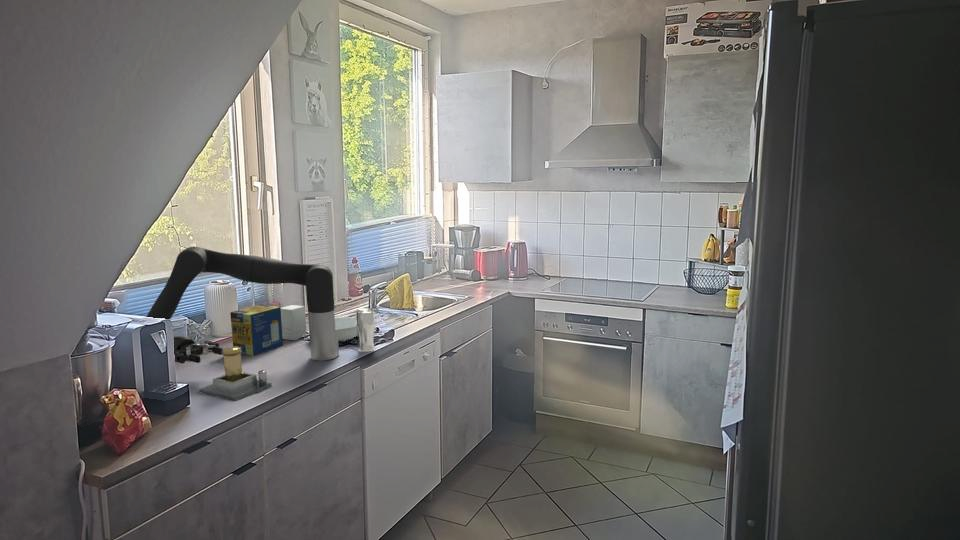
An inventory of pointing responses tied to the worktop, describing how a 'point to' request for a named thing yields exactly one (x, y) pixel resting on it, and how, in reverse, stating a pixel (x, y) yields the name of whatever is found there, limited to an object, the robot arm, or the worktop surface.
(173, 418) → the worktop surface
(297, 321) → the supplement box
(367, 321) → the beer glass
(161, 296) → the robot arm
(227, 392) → the socket plate
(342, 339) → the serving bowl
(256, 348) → the protein box
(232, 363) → the gold metal cylinder
